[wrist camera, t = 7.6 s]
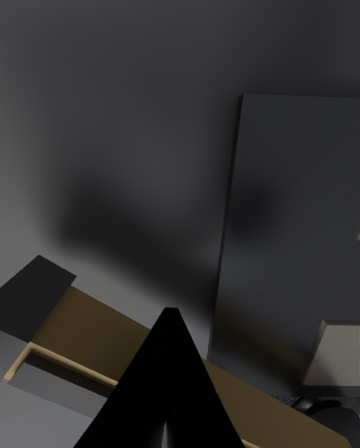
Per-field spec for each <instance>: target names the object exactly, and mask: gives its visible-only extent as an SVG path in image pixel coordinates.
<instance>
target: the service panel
mask: <svg viewBox="0 0 360 448" xmlns="http://www.w3.org/2000/svg"><path fill="white" fill-rule="evenodd" d="M207 361H208V362H210V363H212V364H214V365H215V366H217V367H219V368H221V369H223V370H224V371H226V372H228V373H230V374H232V375H233V376H235V377H237V378H239V379H241V380H243V381H244V382H246V383H248V384H250V385H252V386H253V387H255V388H257V389H259V390H261V391H262V392H264V393H266V394H268V395H270V396H295V397H301V398H300V399H299V400H298V401H296V403H295V404H294V405H293V407H292V408H293V409H295V410H297V411H298V412H300V413H302V414H304V415H306V416H307V417H310V416H312V415H313V414H315V413H316V412H318V411H321V410H324V409H327V408H332V407H345V408H349V409H352V410H354V411H355V412H356V413H357V415H358V416H359V414H360V401H359V400H358V398H357V397H360V98H344V97H322V96H299V95H277V94H254V93H243V94H241V95H240V96H239V101H238V109H237V117H236V125H235V133H234V142H233V150H232V158H231V166H230V174H229V182H228V190H227V199H226V207H225V215H224V223H223V231H222V239H221V247H220V256H219V264H218V272H217V280H216V288H215V296H214V304H213V313H212V321H211V329H210V337H209V345H208V353H207Z"/></svg>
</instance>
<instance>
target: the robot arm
mask: <svg viewBox="0 0 360 448" xmlns="http://www.w3.org/2000/svg"><path fill="white" fill-rule="evenodd" d="M165 420H166V439H167V448H246V447H245V445H244V444H243V442H242V440H241V438H240V437H239V435H238V433H237V431H236V429H235V428H234V426H233V424H232V422H231V420H230V418H229V416H228V414H227V412H226V410H225V408H224V406H223V404H222V401H221V399H220V397H219V395H218V393H216V389H215V387H214V385H213V382H212V380H211V378H210V376H209V374H208V372H207V369H206V367H205V365H204V363H203V361H202V359H201V357H200V354H199V352H198V350H197V348H196V346H195V344H194V341H193V339H192V337H191V335H190V333H189V331H188V329H187V326H186V324H185V322H184V320H183V318H182V316H181V314H180V311H179V309H178V308H170V307H166V308H164V310H163V311H162V313H161V314H160V316H159V318H158V319H157V321H156V322H155V324H154V326H153V327H152V329H151V330H150V332H149V333H148V335H147V337H146V338H145V340H144V341H143V343H142V345H141V346H140V348H139V349H138V351H137V353H136V354H135V356H134V357H133V359H132V361H131V362H130V364H129V365H128V367H127V369H126V370H125V372H124V373H123V375H122V376H121V378H120V380H119V381H118V383H117V384H116V386H115V389H113V391H112V392H111V394H110V395H109V397H108V399H107V400H106V402H105V403H104V405H103V406H102V408H101V409H100V411H99V412H98V414H97V415H96V417H95V418H94V420H93V421H92V423H91V424H90V425H89V427H88V428H87V429H86V431H85V432H84V433H83V435H82V436H81V438H80V439H79V440H78V442H77V443H76V444H75V446H74V447H73V448H161V447H162V440H163V434H164V427H165Z"/></svg>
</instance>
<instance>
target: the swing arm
mask: <svg viewBox="0 0 360 448" xmlns="http://www.w3.org/2000/svg"><path fill="white" fill-rule="evenodd" d="M76 277H77V276H76V275H74V274H72V273H70V272H69V271H67V270H65V269H63V268H61V267H60V266H58V265H56V264H54V263H53V262H51V261H49V260H47V259H46V258H44V257H42V256H40V255H38V256H37V257H36V258H34V259H33V260H32V261H31V262H30V263H29V264H27V265H26V266H25V267H24V268H23V269H22V270H21V271H19V272H18V273H17V274H16V275H15V276H14V277H12V278H11V279H10V280H9V281H8V282H7V283H5V284H4V285H3V286H2V287H1V288H0V382H1V380H2V379H3V378H5V379H7V380H10V381H9V382H8V384H9V385H11V386H14V387H16V388H19V389H21V390H24V391H26V392H29V393H31V394H34V395H36V396H39V397H41V398H44V399H46V400H49V401H51V402H54V403H56V404H59V405H61V406H64V407H66V408H69V409H71V410H74V411H76V412H79V413H81V414H84V415H86V416H89V417H91V418H95V417H96V415H97V414H98V412H99V411H100V409H101V408H102V406H103V405H104V403H105V402H106V400H107V399H108V397H109V395H110V394H111V392H112V391H113V389H115V386H116V384H117V383H118V381H119V380H120V378H121V376H122V375H123V373H124V372H125V370H126V369H127V367H128V365H129V364H130V362H131V361H132V359H133V357H134V356H135V354H136V353H137V351H138V349H139V348H140V346H141V345H142V343H143V341H144V340H145V338H146V337H147V335H148V333H149V332H150V329H149V328H147V327H145V326H143V325H141V324H140V323H138V322H136V321H134V320H132V319H131V318H129V317H127V316H125V315H123V314H122V313H120V312H118V311H116V310H114V309H113V308H111V307H109V306H107V305H105V304H104V303H102V302H100V301H98V300H96V299H95V298H93V297H91V296H89V295H87V294H86V293H84V292H82V291H80V290H78V289H76V288H75V287H73V286H71V284H72V282H73V281H74V279H75V278H76ZM201 359H202V361H203V363H204V365H205V367H206V369H207V372H208V374H209V376H210V378H211V380H212V382H213V385H214V387H215V389H216V393H218V395H219V397H220V399H221V401H222V404H223V406H224V408H225V410H226V412H227V414H228V416H229V418H230V420H231V422H232V424H233V426H234V428H235V429H236V431H237V433H238V435H239V437H240V438H241V440H242V442H243V444H244V445H245V447H246V448H360V418H359V416H358V415H357V413H356V412H355V411H354V410H352V409H349V408H345V407H332V408H327V409H324V410H321V411H318V412H316V413H315V414H313V415H312V416H310V417H307V416H306V415H304V414H302V413H300V412H298V411H297V410H295V409H293V408H291V407H289V406H288V405H286V404H284V403H282V402H280V401H279V400H277V399H275V398H273V397H271V396H270V395H268V394H266V393H264V392H262V391H261V390H259V389H257V388H255V387H253V386H252V385H250V384H248V383H246V382H244V381H243V380H241V379H239V378H237V377H235V376H233V375H232V374H230V373H228V372H226V371H224V370H223V369H221V368H219V367H217V366H215V365H214V364H212V363H210V362H208V361H206V360H205V359H203V358H201ZM162 446H164V447H166V448H167V439H166V420H165V427H164V434H163V440H162Z"/></svg>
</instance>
